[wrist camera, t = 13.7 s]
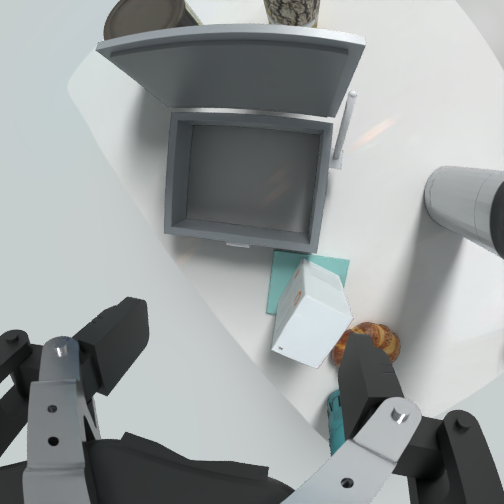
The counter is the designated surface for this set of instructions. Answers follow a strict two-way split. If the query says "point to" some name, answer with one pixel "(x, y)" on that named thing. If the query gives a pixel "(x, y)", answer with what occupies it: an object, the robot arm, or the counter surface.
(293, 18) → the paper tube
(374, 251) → the counter surface
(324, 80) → the lid
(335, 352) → the pretzel
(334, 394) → the beverage bottle
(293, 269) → the mat
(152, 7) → the coffee can
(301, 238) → the case
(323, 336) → the small box
